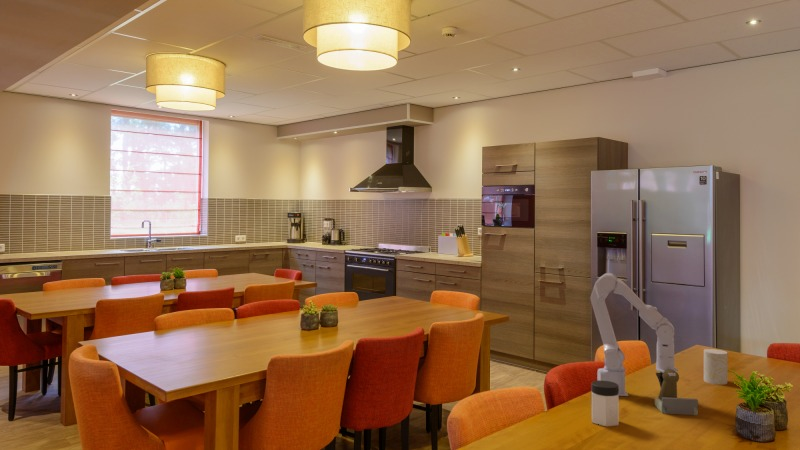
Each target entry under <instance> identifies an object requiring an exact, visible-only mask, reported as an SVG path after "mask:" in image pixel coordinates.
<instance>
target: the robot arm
mask: <svg viewBox="0 0 800 450" xmlns="http://www.w3.org/2000/svg"><path fill="white" fill-rule="evenodd" d="M591 291H592V292H591V295H590V299H589V300H590V303H591V306H592V309H593V313H594V317H595V319H596V324H597V326H598V327H597V328H598V331H599V333H600V337H601V341H602V345H603V354H604V359H603V361H604V366H603V367H602V368H597V373H596V375H597V377H596V379H597V380H596V381H610V382H614V383H616V384H618V386H619V393H618V395H619V397H629V394H628V393H627V392H626V368H625V367H624V365H623V363H624V362H625V359H626V358H625V353H624V352H623V351H622V349H621V348H620V345H619V343H618V341H617V338H616V335H615V332H614V331H615V330H614V327H613V325H612V321H611V317H610V313H609V310H608V308H607V307H608V306H607V304H606V299H607V297H608V295H609V294H610V293H611V292H612V291H613V294H617V295H620V296H622V297H624V299H626V300H627V302H628V303H630V305H632V306H633V307H634V308H635V309H636V310H637V311H638V316H639V317H640V318H641V319H642V320H643V322H645V324H647V325H648V326H649V327H650V328H651V330H654V331H655V335H656V337H657V341H656V362H655V370H656V371H657V372H655V375H656V378H657V380H658V383H659V386H660V388H661V386H662V383H663V380H664V379H663V376H662V374H663V372H664V371H665V370H673V371H675V372H678V371H679V369H678V368H677V367H675V338H674V336H675V327H674V325H673V324H672V322H671V321H669V319H668V318H667V317H664V316H663V315H662V314H661V313H660V312H659V311H658V308H657V307H656V306H653V305H652V304H651V305H650V304H646V303H644V301H643V300H642V299H641V298H640V297H639V296H638V295H637V294H636V293H635V292H634V291H633V290H632V289H631V288H630V287H629V286H628V285H627V284H626V283H625V282H624V281H623V280H622V279H620V278H618V277H617V275H615V274H614V273H611V272H606V273H604V274H602V275H601V276H599V277H598V279H597V280H596V281H595V283H594V286H593V288H592V290H591ZM668 374H669V377H670V376H676V374H675V373H674V374H673V373H671V374H670V373H668Z"/></svg>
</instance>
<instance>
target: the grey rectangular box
mask: <svg viewBox="0 0 800 450" xmlns="http://www.w3.org/2000/svg"><path fill="white" fill-rule="evenodd" d="M698 405H699V400H698V398H686V397H677V398H668V397H662V401H661V400H660V399H659V398H658V397H654V406H655V407H656V408H657V409H658V410H659V411H660V412H661V413H662V414H666V415H685V416H686V415H688V416H689V415H690V416H698V415H699V414H698V413H699V412H698V411H699V410H698V409H699V406H698Z"/></svg>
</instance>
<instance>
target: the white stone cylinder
mask: <svg viewBox="0 0 800 450" xmlns="http://www.w3.org/2000/svg"><path fill="white" fill-rule="evenodd" d="M703 381H704V382H705V383H707V384H711V385H718V386H721V385H723V386H724V385H727V384H728V351H725V350H722V349H715V348H705V349H703Z"/></svg>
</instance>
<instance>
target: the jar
mask: <svg viewBox="0 0 800 450" xmlns="http://www.w3.org/2000/svg"><path fill="white" fill-rule="evenodd" d="M590 385H591V387H590V389H591V391H590V393H591V395H590V396H591V397H590V398H591V402H590V404H591V407H590V408H591V415H590V416H591V422H592V423H593V424H596V425H598V424H599V426H602V427H605V426H606V427H614V426H619V424H620V423H619V422H620V420H619V415H620V408H619V403H620V402H619V401H620V398H619V397H620V396H619V395H618V393H619V386H618V384H616V383H614V382H610V381H597V380H593V381H592V382H591V384H590Z"/></svg>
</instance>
